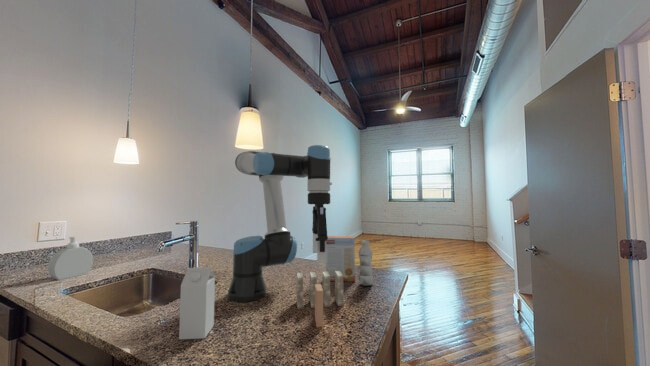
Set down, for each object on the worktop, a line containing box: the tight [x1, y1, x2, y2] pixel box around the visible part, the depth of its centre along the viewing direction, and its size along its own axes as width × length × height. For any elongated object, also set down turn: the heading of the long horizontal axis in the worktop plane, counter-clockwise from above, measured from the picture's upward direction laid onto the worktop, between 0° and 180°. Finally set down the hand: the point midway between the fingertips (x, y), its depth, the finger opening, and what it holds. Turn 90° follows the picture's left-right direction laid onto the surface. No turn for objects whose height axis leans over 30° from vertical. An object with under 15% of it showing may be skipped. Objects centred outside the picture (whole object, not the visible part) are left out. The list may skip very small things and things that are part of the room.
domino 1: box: [296, 272, 304, 310], centre depth 94 cm, size 2×6×11 cm, turn 8°
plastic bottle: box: [358, 239, 374, 287], centre depth 115 cm, size 6×7×20 cm
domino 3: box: [322, 271, 331, 308], centre depth 95 cm, size 2×6×11 cm, turn 8°
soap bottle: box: [47, 236, 94, 281], centre depth 129 cm, size 16×5×20 cm, turn 161°
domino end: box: [314, 283, 324, 328], centre depth 81 cm, size 2×6×11 cm, turn 8°
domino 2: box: [309, 271, 318, 309], centre depth 95 cm, size 2×6×11 cm, turn 8°
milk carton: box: [178, 267, 216, 340], centre depth 75 cm, size 7×7×19 cm
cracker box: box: [325, 235, 356, 283], centre depth 123 cm, size 14×6×21 cm, turn 84°
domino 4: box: [334, 271, 344, 307], centre depth 96 cm, size 2×6×11 cm, turn 8°
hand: (319, 257), depth 82 cm, fingers open, 13 cm apart
